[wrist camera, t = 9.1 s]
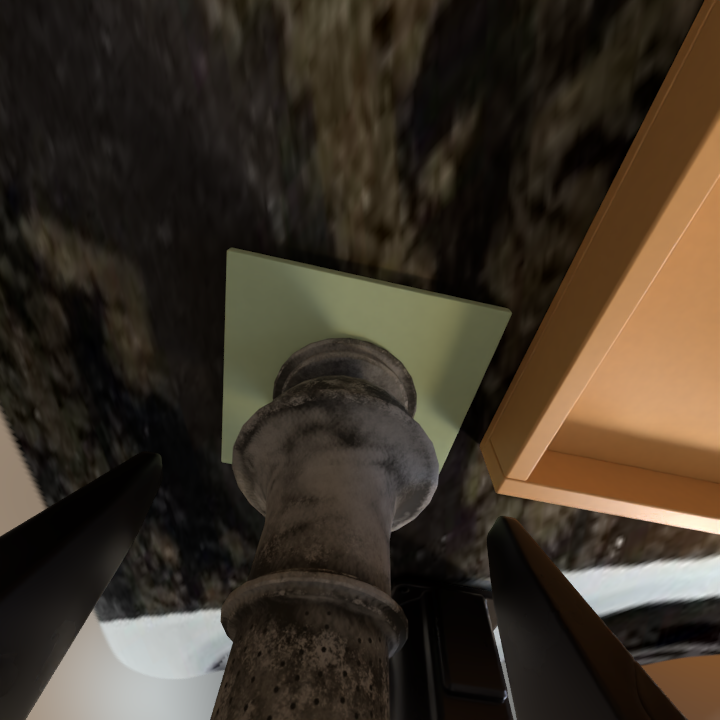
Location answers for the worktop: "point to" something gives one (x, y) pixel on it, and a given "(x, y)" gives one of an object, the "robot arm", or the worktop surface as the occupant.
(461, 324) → the mat
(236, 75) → the worktop surface
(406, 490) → the stone finial
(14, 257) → the worktop surface
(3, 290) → the worktop surface
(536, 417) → the tray
